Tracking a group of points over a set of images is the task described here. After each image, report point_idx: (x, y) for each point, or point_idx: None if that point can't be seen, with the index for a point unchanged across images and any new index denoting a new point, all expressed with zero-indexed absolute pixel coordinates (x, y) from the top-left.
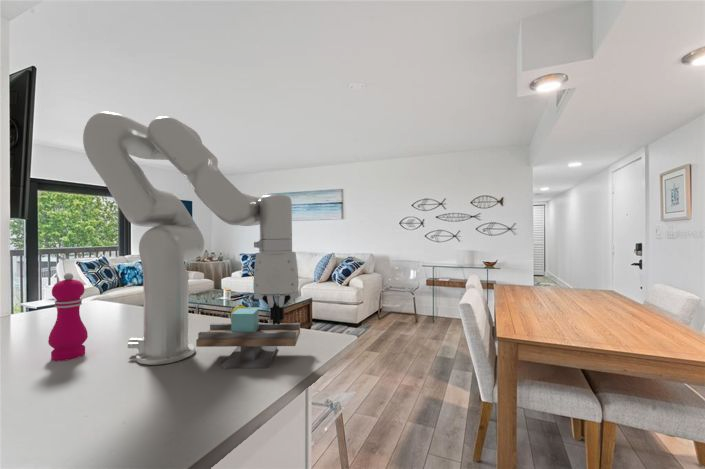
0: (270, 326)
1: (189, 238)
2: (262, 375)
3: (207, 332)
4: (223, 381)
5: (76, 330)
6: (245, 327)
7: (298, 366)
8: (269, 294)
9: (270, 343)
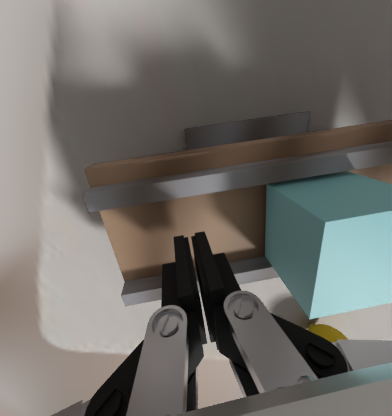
0: None
1: None
2: (180, 72)
3: None
4: (278, 14)
5: None
6: (314, 187)
7: (101, 150)
8: (304, 393)
9: (186, 152)
